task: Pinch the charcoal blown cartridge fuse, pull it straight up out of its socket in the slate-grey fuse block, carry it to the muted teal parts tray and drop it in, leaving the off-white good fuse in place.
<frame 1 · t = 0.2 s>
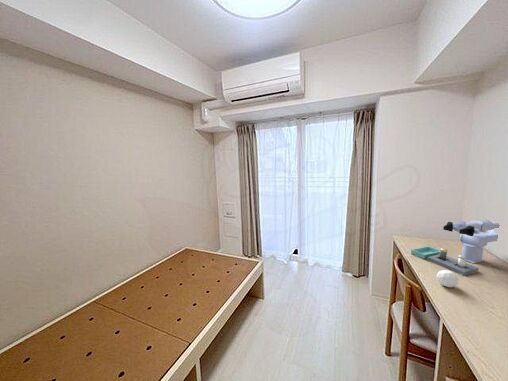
hand: (451, 229, 119), 21 cm above the table, tool horizontal, fingers open, 7 cm apart
good fuse: (460, 269, 118), resting in fuse block
parts tray: (425, 254, 135), on the table
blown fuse: (442, 261, 126), resting in fuse block
fuse block: (451, 265, 122), on the table
geometric ball: (446, 285, 104), on the table
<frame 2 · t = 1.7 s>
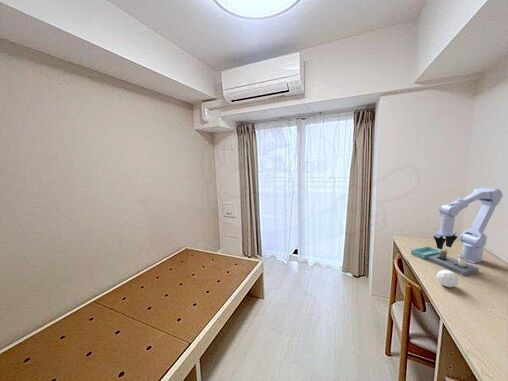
hand: (444, 247, 125), 9 cm above the table, tool pointing down, fingers open, 7 cm apart
nothing on the table moved.
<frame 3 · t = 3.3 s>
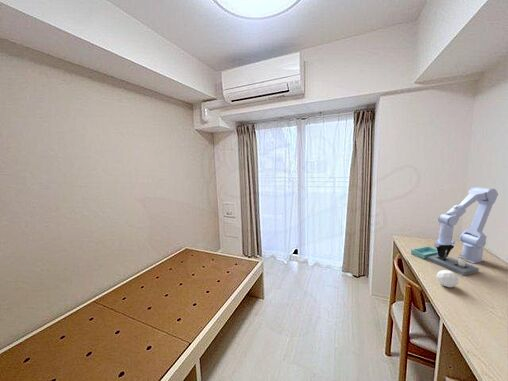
hand: (442, 256, 126), 3 cm above the table, tool pointing down, fingers closed on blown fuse, 3 cm apart
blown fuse: (442, 261, 126), resting in fuse block, touching gripper
everything else where it was.
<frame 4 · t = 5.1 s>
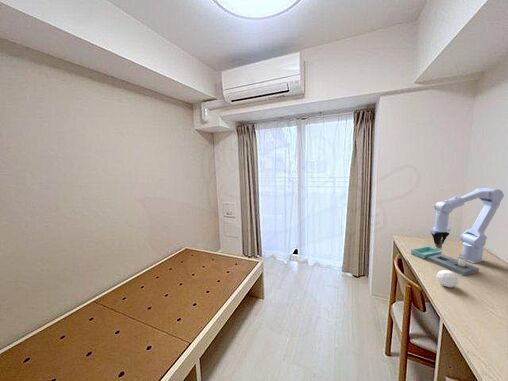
hand: (438, 243, 127), 10 cm above the table, tool pointing down, fingers closed on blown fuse, 3 cm apart
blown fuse: (438, 249, 128), point 7 cm above the table, touching gripper
everything else where it was.
when the fingers open (5 cm above the table, at t = 7.0 s): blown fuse drops 1 cm, resting on parts tray.
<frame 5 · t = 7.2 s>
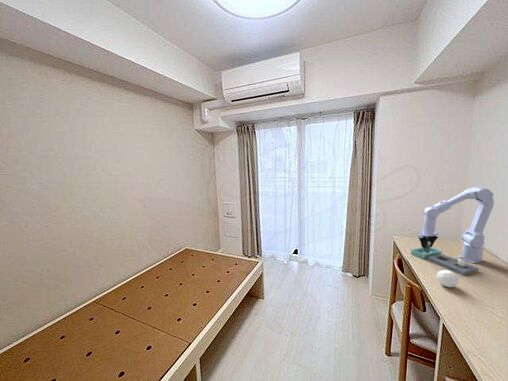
hand: (426, 247, 134), 5 cm above the table, tool pointing down, fingers open, 5 cm apart
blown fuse: (426, 253, 135), point 1 cm above the table, touching parts tray
everything else where it was.
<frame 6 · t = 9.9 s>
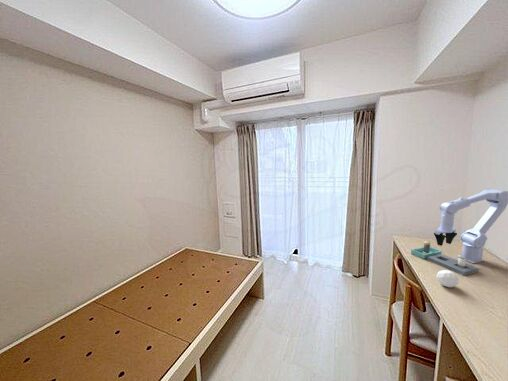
hand: (444, 244, 128), 9 cm above the table, tool pointing down, fingers open, 7 cm apart
nothing on the table moved.
at the end: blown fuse inside the target area on the parts tray (0.0 cm from its centre), point 0.6 cm above the parts tray's base; the gripper is holding nothing; good fuse moved 0.0 cm from its start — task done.
